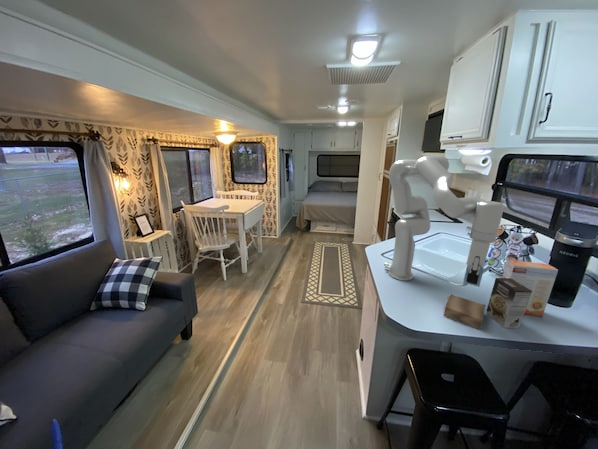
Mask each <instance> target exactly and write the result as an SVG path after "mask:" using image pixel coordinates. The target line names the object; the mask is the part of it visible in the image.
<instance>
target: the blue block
mask: <svg viewBox="0 0 598 449" xmlns="http://www.w3.org/2000/svg"><path fill="white" fill-rule="evenodd" d="M466 265H467V264H466ZM470 267H471V265H467V266H466V268H465V273H464V277H463V283H464V284H468V285H471V286H476V287H478V288H479V287H480V286H481V282H482V277H483V274H484V269H485V267H484V266H483V267H482V268H480V270H479V277H478V281H477V284H472V283H468V282H467V276H468V272H469V271H470ZM472 268H473V267H472ZM477 269H478V268H477Z"/></svg>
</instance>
